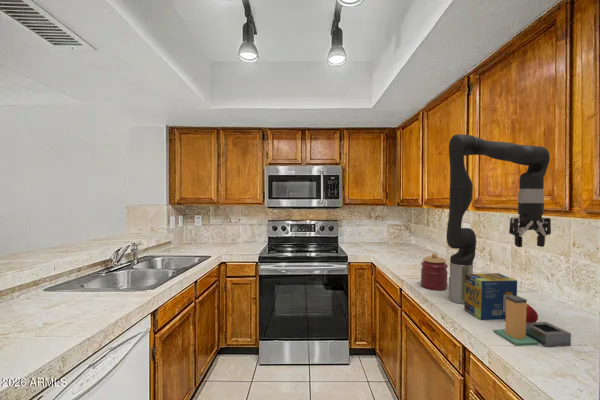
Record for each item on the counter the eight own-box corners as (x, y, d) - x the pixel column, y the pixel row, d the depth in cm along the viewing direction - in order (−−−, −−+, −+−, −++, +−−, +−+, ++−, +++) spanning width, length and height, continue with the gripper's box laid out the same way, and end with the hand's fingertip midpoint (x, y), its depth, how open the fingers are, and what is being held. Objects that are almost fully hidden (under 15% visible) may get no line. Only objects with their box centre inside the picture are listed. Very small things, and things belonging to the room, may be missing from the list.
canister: (442, 283, 169) (443, 251, 168) (451, 291, 156) (452, 256, 155) (417, 282, 170) (418, 250, 169) (424, 290, 157) (425, 255, 156)
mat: (493, 331, 110) (493, 329, 110) (514, 331, 111) (514, 328, 111) (515, 345, 100) (516, 343, 100) (538, 344, 101) (538, 342, 101)
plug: (505, 333, 108) (506, 296, 107) (515, 332, 108) (517, 295, 108) (514, 338, 104) (515, 300, 103) (525, 338, 104) (526, 299, 104)
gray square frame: (522, 334, 109) (522, 322, 109) (545, 333, 110) (546, 321, 110) (545, 346, 100) (545, 334, 100) (570, 345, 101) (571, 333, 101)
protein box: (463, 310, 131) (464, 273, 130) (497, 309, 132) (498, 272, 132) (480, 320, 120) (481, 280, 120) (517, 319, 122) (518, 279, 121)
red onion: (529, 322, 119) (530, 301, 119) (541, 328, 113) (542, 307, 113) (514, 322, 119) (515, 301, 119) (526, 328, 113) (526, 307, 113)
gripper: (539, 201, 116) (538, 244, 117) (504, 201, 115) (503, 245, 115) (558, 202, 109) (557, 248, 109) (521, 202, 107) (519, 248, 108)
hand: (529, 246), depth 112 cm, fingers open, 8 cm apart
